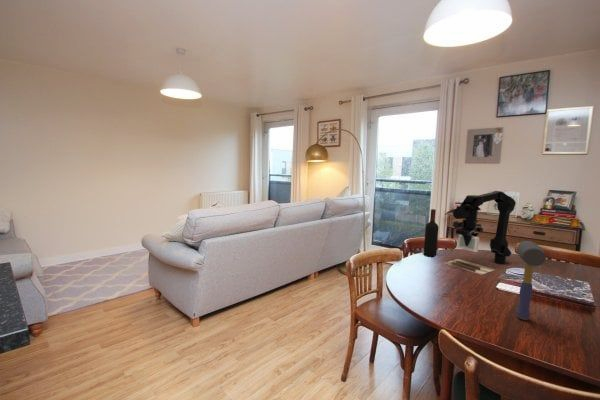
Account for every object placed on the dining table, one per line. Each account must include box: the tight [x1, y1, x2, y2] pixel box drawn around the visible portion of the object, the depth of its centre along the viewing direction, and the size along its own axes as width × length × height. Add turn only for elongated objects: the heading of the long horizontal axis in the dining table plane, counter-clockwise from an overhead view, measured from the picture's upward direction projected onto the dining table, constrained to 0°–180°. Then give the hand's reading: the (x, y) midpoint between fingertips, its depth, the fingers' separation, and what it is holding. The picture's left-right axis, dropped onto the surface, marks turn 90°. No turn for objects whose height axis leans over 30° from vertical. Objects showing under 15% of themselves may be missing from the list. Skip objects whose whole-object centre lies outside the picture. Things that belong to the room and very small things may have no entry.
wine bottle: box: [423, 208, 439, 258], centre depth 188 cm, size 8×8×30 cm
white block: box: [457, 234, 480, 253], centre depth 166 cm, size 10×3×8 cm, turn 35°
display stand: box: [444, 258, 496, 276], centre depth 168 cm, size 15×21×2 cm
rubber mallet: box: [516, 240, 547, 321], centre depth 112 cm, size 12×8×30 cm, turn 152°
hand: (468, 245), depth 166 cm, fingers closed on white block, 3 cm apart
